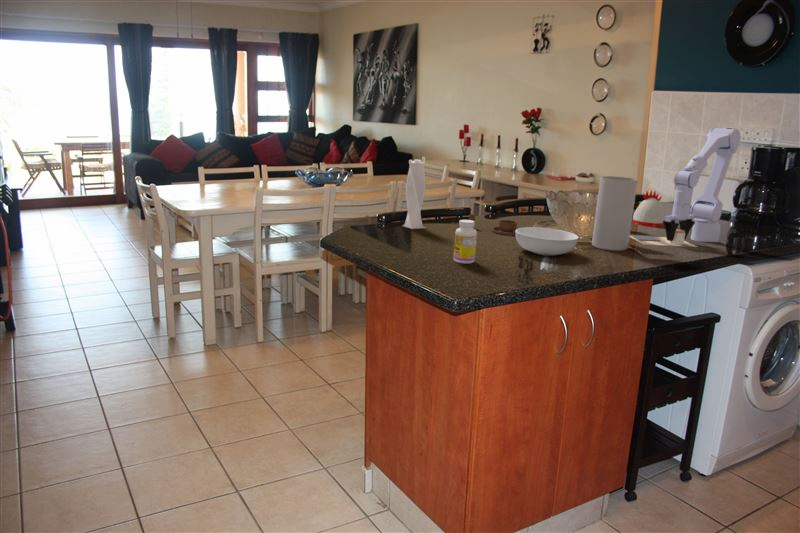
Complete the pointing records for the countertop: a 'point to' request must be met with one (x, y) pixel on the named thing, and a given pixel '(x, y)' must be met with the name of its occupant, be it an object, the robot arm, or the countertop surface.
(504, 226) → the place setting
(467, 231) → the supplement bottle
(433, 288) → the countertop surface
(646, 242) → the board
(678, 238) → the brown egg in cup
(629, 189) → the cylinder vase
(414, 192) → the skyscraper
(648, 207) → the white red spiked dome
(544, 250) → the serving bowl
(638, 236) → the pad
